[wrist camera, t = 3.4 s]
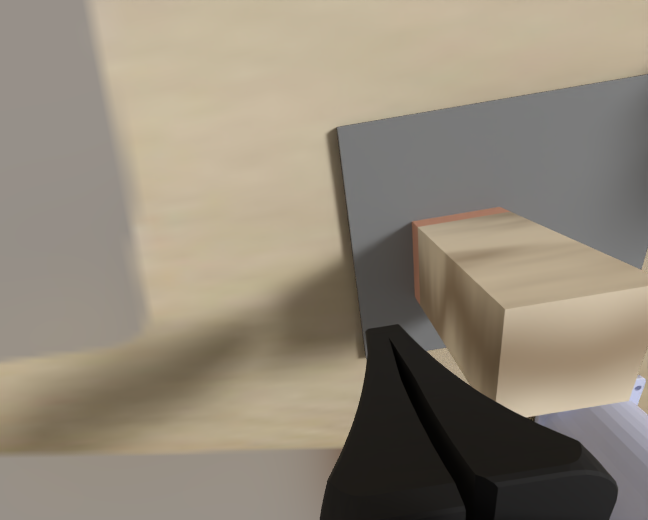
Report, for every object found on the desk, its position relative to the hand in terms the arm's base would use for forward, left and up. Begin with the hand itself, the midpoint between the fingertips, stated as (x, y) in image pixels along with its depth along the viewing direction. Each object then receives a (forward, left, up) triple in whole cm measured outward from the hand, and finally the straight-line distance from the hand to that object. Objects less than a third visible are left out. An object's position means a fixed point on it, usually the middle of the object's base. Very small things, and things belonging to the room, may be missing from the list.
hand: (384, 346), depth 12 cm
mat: (+1, -9, -7) cm, 12 cm away
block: (0, -6, -7) cm, 9 cm away
